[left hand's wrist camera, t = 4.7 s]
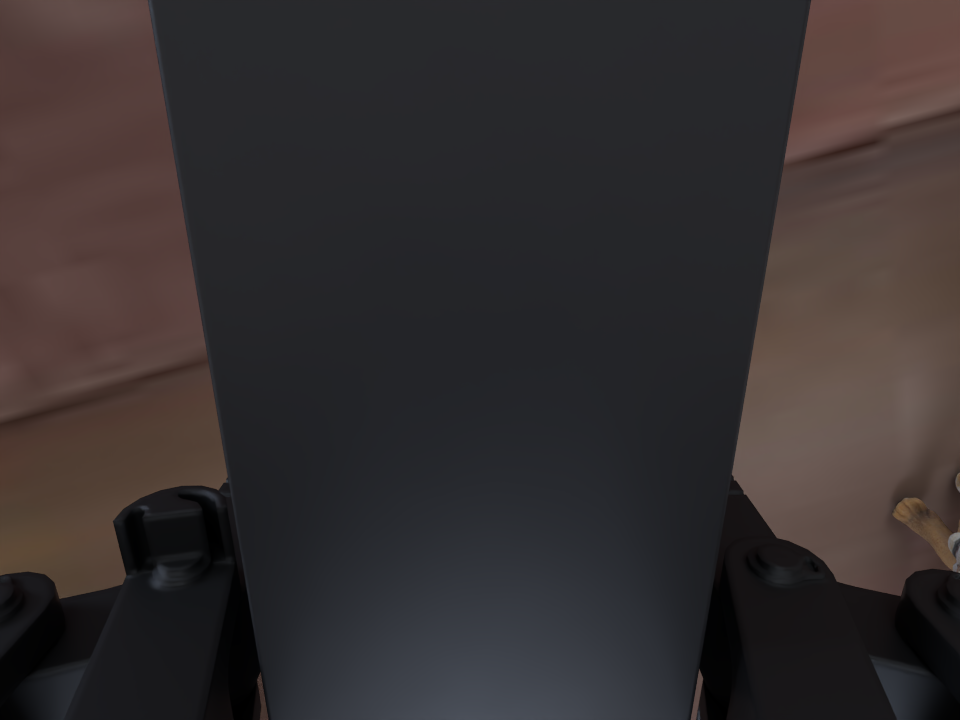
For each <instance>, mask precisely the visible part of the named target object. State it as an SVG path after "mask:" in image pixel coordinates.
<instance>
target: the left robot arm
mask: <svg viewBox="0 0 960 720" xmlns="http://www.w3.org/2000/svg"><path fill="white" fill-rule="evenodd" d="M113 523H114V527H115V531H116V535H117V539H118V543H119V547H120V551H121V555H122V559H123V563H124V567H125V571H126V575H127V576H126V578H125V580H124V583H123V585H119V586H116V587H112V588H109V589H105V590H100V591H95V592H91V593H86V594H81V595H76V596H72V597H67V598H62V599H59V596H58V593H57V590H56V587H55V583H54V582H53V581H52V580H51V579H50V578H48V577H47V576H46V575H44V574H38V573H33V572H22V573H13V574H5V575H2V576H0V720H260V712H261V702H260V695H259V689H258V683H257V679H258V676H259V674H260V665H259V659H258V653H257V647H256V641H255V635H254V629H253V623H252V617H251V611H250V605H249V599H248V593H247V587H246V581H245V575H244V569H243V563H242V557H241V551H240V545H239V539H238V534H237V528H236V522H235V516H234V510H233V504H232V498H231V492H230V486H229V480H228V478H227V479H226V483H223V485H222V486H221V488H220V489H219V491H218V490H217V489H213V488H209V487H205V486H179V487H175V488H170V489H165V490H160V491H158V492H155V493H153V494H150V495H148V496H145V497H142V498H140V499H139V500H137V501H135V502H134V503H132V504H131V505H129V506H128V507H126V508H124V509H123V510H122V511H121V513H120V514H119V515H118V516H117V517H116V518H115V519H114V521H113ZM699 669H700V671H701V674H702V676H703V683H702V689H701V695H700V701H699V706H698V712H697V718H696V720H960V573H958V572H955V571H946V570H937V569H929V570H923V571H917V572H914V573H913V574H912V575H911V576H910V577H909V578H907V579H906V581H905V585H904V588H903V591H902V595H901V596H896V595H892V594H887V593H882V592H877V591H873V590H868V589H863V588H859V587H854V586H850V585H847V584H843V583H839V582H836V579H835V577H834V575H833V573H832V572H831V571H830V569H829V568H828V567H827V565H826V564H825V563H824V561H822V560H821V559H820V558H818V557H817V556H816V555H814V554H813V553H812V552H810V551H809V550H807V549H805V548H803V547H801V546H798V545H796V544H794V543H792V542H790V541H786V540H782V539H778V538H776V536H775V535H774V533H773V532H772V531H771V529H770V528H769V526H768V525H767V524H766V522H765V521H764V519H763V518H762V516H761V515H760V514H759V512H758V511H757V509H756V508H755V507H754V505H753V504H752V502H751V501H750V500H749V498H748V497H747V495H744V493H743V490H742V488H741V487H740V486H739V484H738V483H737V481H734V477H733V476H732V475H731V481H730V487H729V493H728V499H727V505H726V511H725V517H724V523H723V529H722V535H721V541H720V547H719V553H718V559H717V565H716V571H715V577H714V582H713V588H712V594H711V600H710V606H709V612H708V618H707V624H706V630H705V636H704V642H703V648H702V654H701V660H700V666H699Z"/></svg>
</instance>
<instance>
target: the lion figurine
mask: <svg viewBox="0 0 960 720" xmlns="http://www.w3.org/2000/svg"><path fill="white" fill-rule="evenodd" d="M955 482H956V487H957V489H958V491H959V493H960V473H958V475H957V476H956V481H955ZM892 515H893V516H894V517H895V518H896V519H898V520H899V521H901V522H902V523H904V524H905V525H907V526H908V527H909V528H910V529H912V530H913V531H914V532H916V533H917V534H919V535H920V536H921V537H923V538H924V539H925V540H926V541H927V542H928V543H929V544H930V545H931V546H932V547H933V548H934V550H935V551H936V553H937V554H938V556H939V557H940V558H941V560H942V561H943V562H944V563H945V565H946V566H948V567H949V568H950V569H951V570H952V571H955V572H958V573H960V521H959V527H958V533H952V532H951V531H950V530H949V529H948V528H947V527H946V526H945V524H944V523H943V522H942V520H941V519H940V518H939V517H938V515H937V514H936V513H935V512H933V511H931V510H929V509H927V507H926V505H925V504H924V503H923V501H921V500H920V499H917V498H915V497H914V498H904V499H903V500H902V501H901V502H899V503H898V504H897V506H896V508H895V509H894V510H893V513H892Z"/></svg>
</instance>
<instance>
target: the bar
mask: <svg viewBox="0 0 960 720" xmlns="http://www.w3.org/2000/svg"><path fill="white" fill-rule="evenodd" d="M148 3H149V9H150V15H151V21H152V27H153V33H154V39H155V45H156V51H157V57H158V63H159V69H160V75H161V81H162V87H163V92H164V98H165V104H166V110H167V116H168V122H169V128H170V134H171V140H172V146H173V152H174V158H175V164H176V170H177V176H178V182H179V188H180V194H181V200H182V206H183V212H184V218H185V224H186V230H187V236H188V241H189V247H190V253H191V259H192V265H193V271H194V277H195V283H196V289H197V295H198V301H199V307H200V313H201V319H202V325H203V331H204V337H205V343H206V349H207V355H208V361H209V367H210V373H211V379H212V385H213V390H214V396H215V402H216V408H217V414H218V420H219V426H220V432H221V438H222V444H223V450H224V456H225V462H226V468H227V474H228V480H229V486H230V492H231V498H232V504H233V510H234V516H235V522H236V528H237V534H238V539H239V545H240V551H241V557H242V563H243V569H244V575H245V581H246V587H247V593H248V599H249V605H250V611H251V617H252V623H253V629H254V635H255V641H256V647H257V653H258V659H259V665H260V671H261V677H262V683H263V688H264V694H265V700H266V706H267V712H268V718H269V720H691V714H692V708H693V702H694V696H695V690H696V684H697V678H698V672H699V666H700V660H701V654H702V648H703V642H704V636H705V630H706V624H707V618H708V612H709V606H710V600H711V594H712V588H713V582H714V577H715V571H716V565H717V559H718V553H719V547H720V541H721V535H722V529H723V523H724V517H725V511H726V505H727V499H728V493H729V487H730V481H731V475H732V469H733V463H734V457H735V451H736V445H737V439H738V433H739V427H740V421H741V415H742V409H743V403H744V397H745V391H746V385H747V379H748V373H749V367H750V361H751V355H752V349H753V344H754V338H755V332H756V326H757V320H758V314H759V308H760V302H761V296H762V290H763V284H764V278H765V272H766V266H767V260H768V254H769V248H770V242H771V236H772V230H773V224H774V218H775V212H776V206H777V200H778V194H779V188H780V182H781V176H782V170H783V164H784V158H785V152H786V146H787V140H788V134H789V128H790V122H791V116H792V111H793V105H794V99H795V93H796V87H797V81H798V75H799V69H800V63H801V57H802V51H803V45H804V39H805V33H806V27H807V21H808V15H809V9H810V3H811V0H148Z"/></svg>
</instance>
